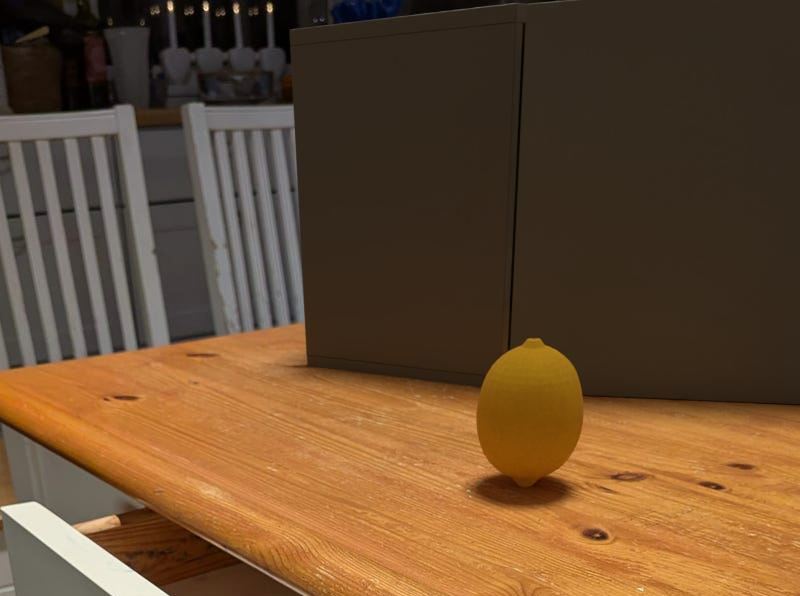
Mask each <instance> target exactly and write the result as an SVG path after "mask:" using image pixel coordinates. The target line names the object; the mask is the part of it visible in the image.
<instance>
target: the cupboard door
mask: <svg viewBox="0 0 800 596" xmlns="http://www.w3.org/2000/svg"><path fill="white" fill-rule="evenodd" d="M526 4H527V5H526V26H525V47H524V68H523V89H522V110H521V131H520V152H519V173H518V194H517V215H516V236H515V257H514V278H513V299H512V320H511V341H510V350H512V349H514V348H516V347H519V346H521V345H523V344H524V342H525V341H526V340H527V339H530V338H538V339H541V341H542V342H543V343H544V345H546V346H549V347H551V348H553V349H555V350H557V351H558V352H560V353H561V354H563V355H564V356H565V357H566V358H567V359H568V360H569V361H570V362H571V364H572V365H573V366H574V368H575V370H576V372H577V375H578V377H579V381H580V385H581V390H582V396H590V397H591V396H592V397H593V396H594V397H595V396H596V397H614V398H615V397H616V398H617V397H618V398H639V399H664V400H684V401H685V400H686V401H690V400H691V401H710V402H711V401H712V402H732V403H733V402H734V403H754V404H755V403H759V404H780V405H781V404H782V405H800V0H557V1H545V2H543V1H541V2H531V3H526Z"/></svg>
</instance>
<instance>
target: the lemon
mask: <svg viewBox="0 0 800 596" xmlns="http://www.w3.org/2000/svg"><path fill="white" fill-rule="evenodd" d="M478 395H479V396H478V400H477V406H476V420H475V421H476V432H477V437H478V441H479V444H480V449H481V450H482V453H483V455H484V457H485V458H486V460H487V461H488V462H489V463H490V464H491V466H492V467H493V468H495V470H496V471H498V472H500V473H501V474H503V475H505V476H508V477H510V478H512V480H513V481H514V482H515V483H516V484H517V485H518V487H520V488H525V489H526V488H530V487H532V486H533V485H534V484H535V483H537V481H539V480H540V479H541V478H543V477H546V476H550V475H551V474H552V473H554V472H556V471H558V470H559V469H561V467H563V466H564V464H565V463H566V462H567V461H568V460H569V458H571V456H572V454H573V453H574V451H575V450H576V447H577V445H578V443H579V440H580V438H581V433H582V429H583V423H584V413H585V412H584V411H585V410H584V409H585V408H584V397H583V396H584V395H582V390H581V385H580V381H579V377H578V375H577V372H576V370H575V368H574V366H573V365H572V364H571V362H570V361H569V360H568V359H567V358H566V357H565V356H564V355H563V354H561V353H560V352H558V351H557V350H555V349H553V348H551V347H549V346H546V345H544V343H543V342H542V341H541V339H538V338H530V339H527V340H526V341H525V342H524V344H523V345H521V346H519V347H516V348H514V349H512V350H510V351H508V352H507V353H505V354H504V355H502V356H501V357H500V358H499V359H498V360H497V361H496V362H495V363H494V364H493V365H492V367H491V368H490V370H489V372H488V373H487V375H486V377H485V379H484V382H483V385H482V388H480V391H479V394H478Z"/></svg>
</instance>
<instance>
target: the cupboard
mask: <svg viewBox="0 0 800 596" xmlns="http://www.w3.org/2000/svg"><path fill="white" fill-rule="evenodd" d="M527 4H528V3H521V2H513V3H505V4H496V5H487V6H477V7H472V8H471V7H469V8H462V9H453V10H445V11H436V12H429V13H428V12H427V13H419V14H412V15H403V16H393V17H385V18H376V19H369V20H368V19H367V20H359V21H351V22H342V23H334V24H326V25H317V26H316V25H315V26H308V27H301V28H299V27H298V28H293V29H292V28H291V29H289V46H290V48H289V49H290V50H289V51H290V68H291V69H290V70H291V86H292V106H293V107H292V108H293V125H294V126H293V127H294V145H295V160H296V161H295V162H296V164H295V165H296V182H297V184H296V185H297V200H298V201H297V202H298V219H299V238H300V256H301V257H300V259H301V274H302V275H301V277H302V294H303V295H302V296H303V313H304V314H303V317H304V332H305V333H304V334H305V351H306V366H307V367H313V368H322V369H329V370H337V371H344V372H353V373H361V374H368V375H376V376H386V377H393V378H399V379H408V380H416V381H423V382H431V383H438V384H439V383H440V384H446V385H447V384H449V385H457V386H464V387H472V388H480V389H481V388H482V385H483V382H484V379H485V377H486V375H487V373H488V372H489V370H490V368H491V367H492V365H493V364H494V363H495V362H496V361H497V360H498V359H499V358H500V357H501V356H502V355H504V354H505V353H507V352H508V351H510V341H511V320H512V299H513V278H514V257H515V236H516V215H517V194H518V173H519V152H520V131H521V110H522V89H523V68H524V47H525V26H526V5H527Z"/></svg>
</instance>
